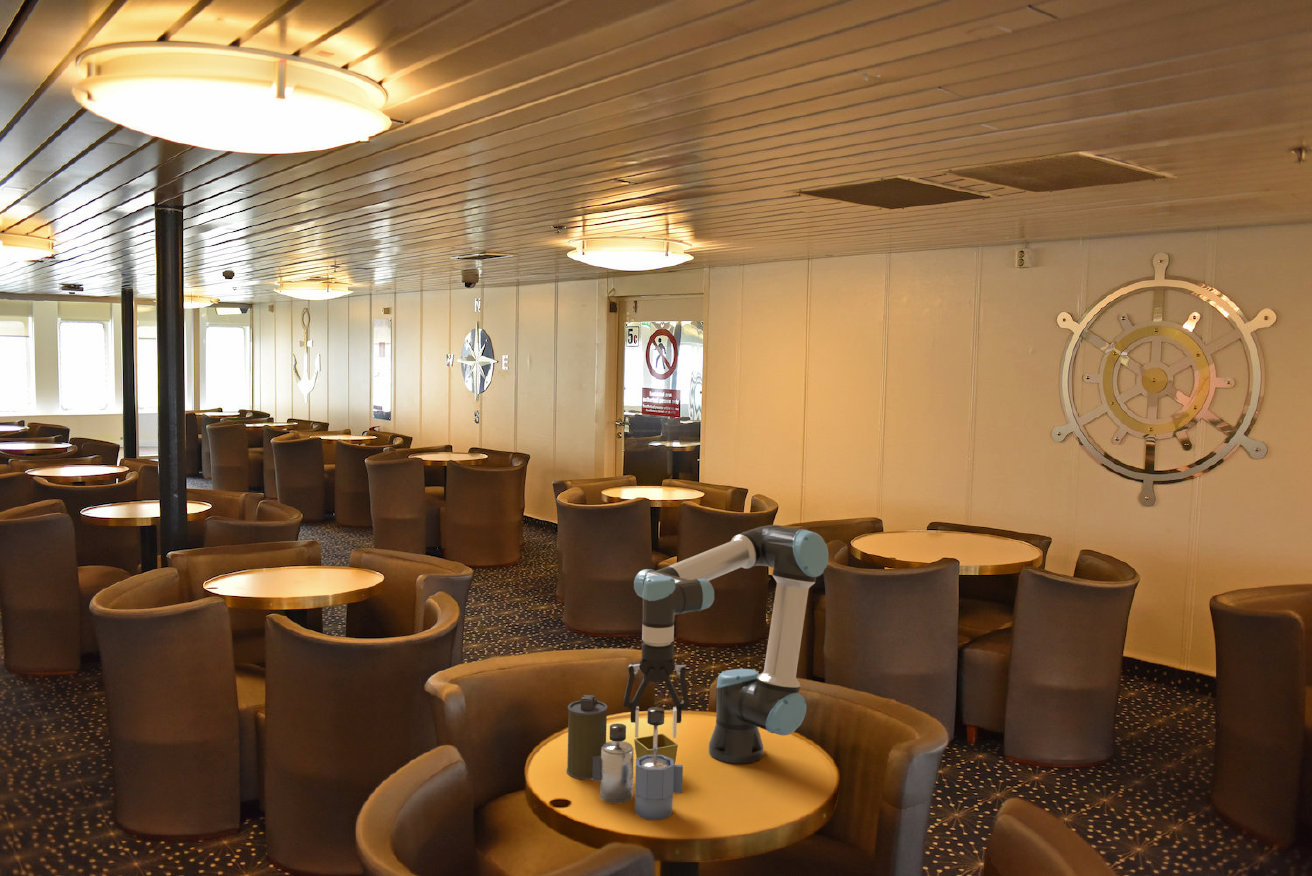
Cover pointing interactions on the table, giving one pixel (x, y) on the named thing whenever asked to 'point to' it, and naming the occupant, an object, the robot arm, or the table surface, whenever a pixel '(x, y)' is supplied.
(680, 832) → the table surface
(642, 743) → the flower pot
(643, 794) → the blue mug
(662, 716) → the plunger
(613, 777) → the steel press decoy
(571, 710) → the canister
